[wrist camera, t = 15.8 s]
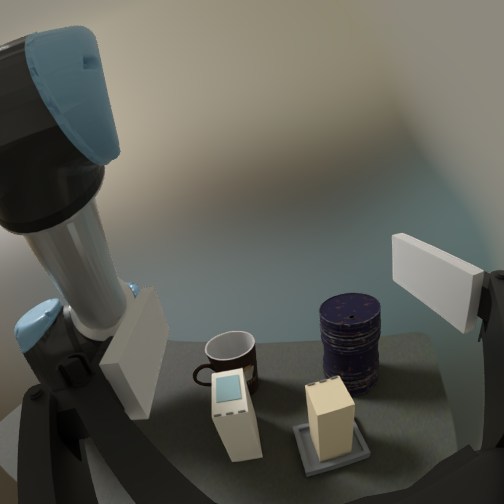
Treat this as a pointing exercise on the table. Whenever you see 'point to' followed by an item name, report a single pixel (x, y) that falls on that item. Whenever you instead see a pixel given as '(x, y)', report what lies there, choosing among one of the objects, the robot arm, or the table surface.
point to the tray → (317, 467)
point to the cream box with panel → (235, 415)
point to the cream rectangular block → (330, 417)
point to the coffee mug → (232, 357)
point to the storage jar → (351, 340)
